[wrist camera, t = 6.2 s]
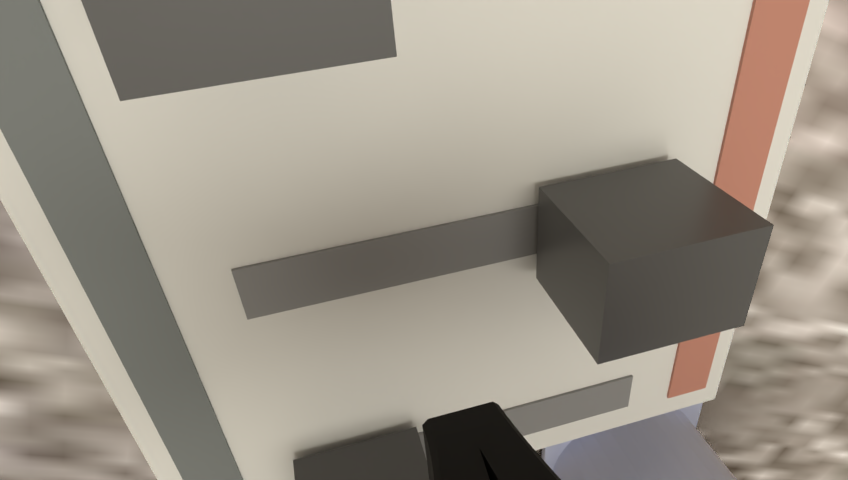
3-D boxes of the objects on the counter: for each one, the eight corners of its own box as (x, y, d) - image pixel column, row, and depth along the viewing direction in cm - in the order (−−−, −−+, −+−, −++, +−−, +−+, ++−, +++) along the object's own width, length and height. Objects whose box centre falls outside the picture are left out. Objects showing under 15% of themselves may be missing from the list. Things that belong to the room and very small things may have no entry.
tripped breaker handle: (660, 248, 18) (743, 325, 15) (536, 278, 17) (598, 364, 14) (676, 158, 16) (773, 225, 13) (539, 186, 15) (609, 263, 12)
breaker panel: (669, 347, 26) (789, 483, 20) (200, 473, 22) (187, 677, 17) (791, -236, 15) (1136, -296, 9) (-108, -159, 11) (-453, -179, 6)
